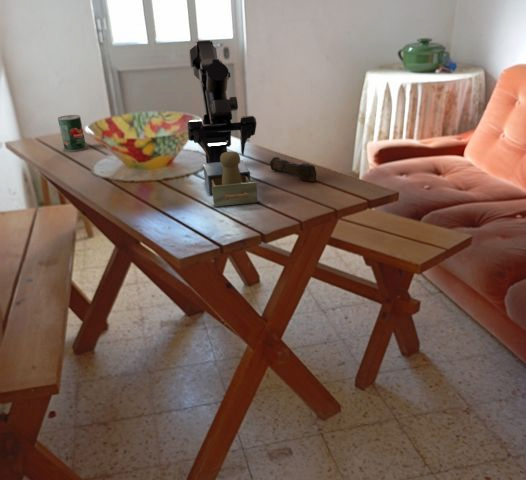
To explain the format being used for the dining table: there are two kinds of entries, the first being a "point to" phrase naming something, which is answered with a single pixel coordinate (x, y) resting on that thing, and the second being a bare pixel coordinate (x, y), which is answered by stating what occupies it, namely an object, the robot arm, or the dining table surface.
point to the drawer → (233, 192)
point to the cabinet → (220, 172)
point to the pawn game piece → (230, 168)
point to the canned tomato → (72, 132)
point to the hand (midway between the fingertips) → (226, 155)
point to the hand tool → (294, 169)
